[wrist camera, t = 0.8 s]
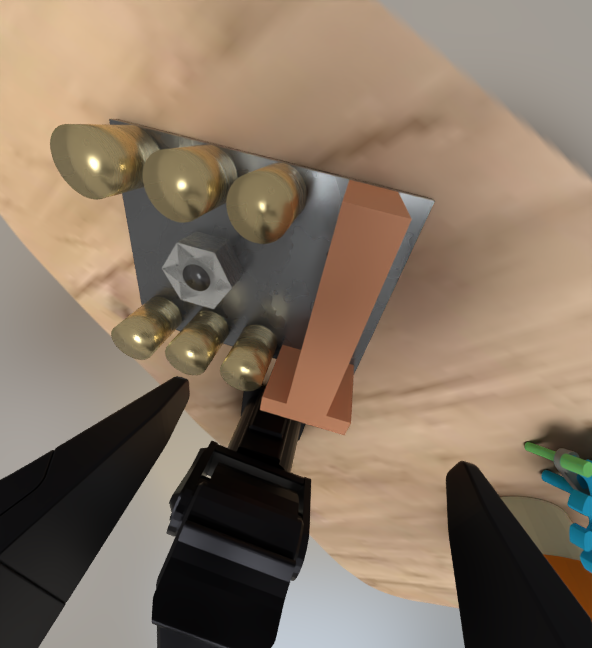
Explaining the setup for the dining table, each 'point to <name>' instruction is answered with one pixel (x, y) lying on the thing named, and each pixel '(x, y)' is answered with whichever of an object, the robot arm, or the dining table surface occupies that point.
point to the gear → (572, 492)
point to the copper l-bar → (339, 311)
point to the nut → (203, 269)
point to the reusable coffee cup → (554, 543)
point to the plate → (227, 223)
